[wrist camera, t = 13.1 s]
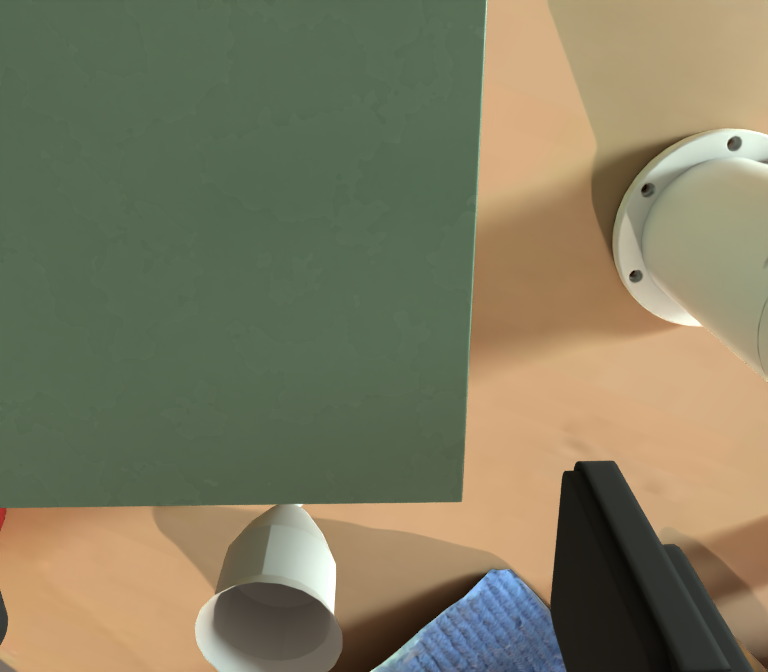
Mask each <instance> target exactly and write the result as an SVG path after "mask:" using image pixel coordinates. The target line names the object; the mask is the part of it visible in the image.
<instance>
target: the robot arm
mask: <svg viewBox="0 0 768 672" xmlns="http://www.w3.org/2000/svg"><path fill="white" fill-rule="evenodd" d="M729 139H731V143H730V144H729V145H728V146H727V142H728V140H729ZM645 184H646V185H647V188H646V190H645V191H641V189H642V187H643V186H644V185H645ZM612 249H613V255H614V261H615V266H616V269H617V271H618V274H619V276H620V279H621V281H622V283H623V284H624V286H625V287H626V289H627V290H628V291H629V293H630V294H631V296H632V297H634V298H635V299H636V300H637V302H638V303H639V304H640V305H641V306H643V307H644V308H645V309H647V310H648V311H650V312H651V313H652V314H654V315H656V316H658V317H660V318H662V319H664V320H667V321H669V322H673V323H677V324H681V325H686V326H703V327H705V328H706V329H707V330H708V331H709V332H710V333H711V334H713V335H714V336H715V337H716V338H717V339H718V340H719V341H721V342H722V343H723V344H724V345H725V346H726V347H727V348H729V349H730V350H731V351H732V352H733V353H734V354H735V355H737V356H738V357H739V358H740V359H741V360H742V361H743V362H745V363H746V364H747V365H748V366H749V367H750V368H751V369H753V370H754V371H755V372H756V373H757V374H758V375H760V376H761V377H762V378H763V379H764V380H765V381H766V382H768V135H765V134H762V133H759V132H755V131H750V130H746V129H731V128H723V129H716V130H710V131H704V132H701V133H698V134H695V135H692V136H690V137H687V138H684V139H682V140H681V141H679V142H677V143H675V144H673V145H672V146H670V147H668V148H666V149H665V150H664V151H663V152H661V153H660V154H659V155H657V156H656V157H655V158H654V159H652V160H651V161H650V162H649V163H648V164H647V165H646V166H645V167H644V169H643V170H642V171H641V172H640V173H639V174H638V175H637V176H636V178H635V179H634V181H633V182H632V184H631V185H630V187H629V188H628V190H627V192H626V193H625V195H624V197H623V200H622V202H621V204H620V207H619V209H618V212H617V215H616V220H615V224H614V229H613V247H612ZM633 270H635V272H634V274H633V275H630V273H631V272H632V271H633ZM551 619H552V624H553V628H554V632H555V635H556V638H557V642H558V645H559V648H560V652H561V655H562V658H563V662H564V665H565V668H566V672H755V671H754V670H753V668H752V666H751V665H750V663H749V661H748V660H747V658H746V656H745V655H744V653H743V651H742V650H741V648H740V646H739V645H738V643H737V641H736V640H735V638H734V636H733V634H732V633H731V631H730V629H729V628H728V626H727V624H726V623H725V621H724V619H723V618H722V616H721V614H720V613H719V611H718V609H717V608H716V606H715V604H714V603H713V601H712V599H711V598H710V596H709V594H708V593H707V591H706V589H705V587H704V586H703V584H702V582H701V581H700V579H699V577H698V576H697V574H696V572H695V571H694V569H693V567H692V566H691V564H690V562H689V561H688V559H687V557H686V556H685V554H684V553H683V551H682V550H681V549H680V548H679V547H678V546H676V545H674V544H668V545H662V544H661V542H660V541H659V539H658V537H657V535H656V534H655V532H654V530H653V528H652V526H651V525H650V523H649V521H648V519H647V517H646V516H645V514H644V512H643V510H642V509H641V507H640V505H639V503H638V501H637V500H636V498H635V496H634V494H633V493H632V491H631V489H630V487H629V485H628V484H627V482H626V480H625V478H624V477H623V475H622V473H621V471H620V469H619V468H618V466H617V464H616V463H615V462H614V461H578V462H577V463H576V464H575V467H574V471H565V472H564V473H563V476H562V485H561V495H560V506H559V517H558V528H557V539H556V549H555V560H554V571H553V582H552V592H551ZM7 626H8V616H7V612H6V608H5V605H4V601H3V598H2V595H1V591H0V645H1V643H2V641H3V639H4V637H5V635H6V631H7Z"/></svg>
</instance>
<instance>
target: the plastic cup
mask: <svg viewBox="0 0 768 672" xmlns="http://www.w3.org/2000/svg"><path fill="white" fill-rule="evenodd" d="M5 514H6V508H0V530H1V527H2V525H3V522H4V519H5Z"/></svg>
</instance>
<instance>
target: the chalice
mask: <svg viewBox="0 0 768 672" xmlns="http://www.w3.org/2000/svg"><path fill="white" fill-rule="evenodd" d="M302 505H303V504H279V505H276V506H274V507H272V508H270V509H269V510H267V511H266V512H265V513H263V514H262V515H260V516H259V517H257V518H256V519H254V520H253V521H252V522H251V523H250V524H249V525H248V526H247V527H246V528H245V529H244V530H243V531H242V533H241V534H240V535H239V536H238V537H237V538H236V539H235V540H234V541H233V542H232V543H231V545H230V546H229V548H228V551H227V553H226V556H225V559H224V562H223V566H222V570H221V573H220V577H219V581H218V584H217V588H216V592H215V595H214V596H213V597H212V598H211V599H210V600H209V601H208V602H207V603H206V604H205V605H204V606H203V607H202V608H201V610H200V612H199V615H198V618H197V620H196V623H195V632H196V642H197V644H198V646H199V648H200V650H201V651H202V653H203V655H204V657H205V658H206V659H207V660H208V661H209V662H210V663H211V664H212V665H213V666H214V667H215V668H216V669H217V670H218V671H219V672H328V671H329V670H330V669H331V668H332V667H333V666H334V665H335V664H336V662H337V660H338V658H339V655H340V653H341V651H342V631H341V628H340V626H339V624H338V622H337V619H336V617H335V615H334V601H335V584H336V564H335V562H334V559H333V557H332V554H331V552H330V550H329V547H328V545H327V543H326V540H325V538H324V535H323V533H322V532H321V531H320V529H319V528H318V526H317V525H316V524H315V522H314V521H313V520H312V518H311V517H310V515H309V514H308V513H307V512H306V511H305V510H304V509H302V508H301V506H302Z"/></svg>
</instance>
